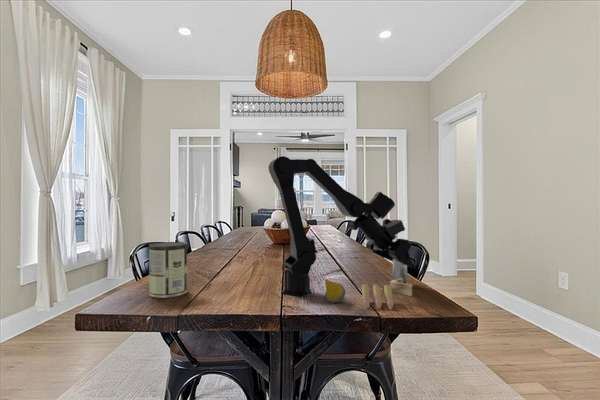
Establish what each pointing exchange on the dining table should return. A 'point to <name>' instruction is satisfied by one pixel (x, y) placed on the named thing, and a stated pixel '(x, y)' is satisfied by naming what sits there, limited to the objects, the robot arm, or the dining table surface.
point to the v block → (401, 287)
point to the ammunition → (377, 296)
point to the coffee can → (167, 269)
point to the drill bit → (334, 292)
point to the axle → (399, 271)
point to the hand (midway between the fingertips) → (403, 263)
